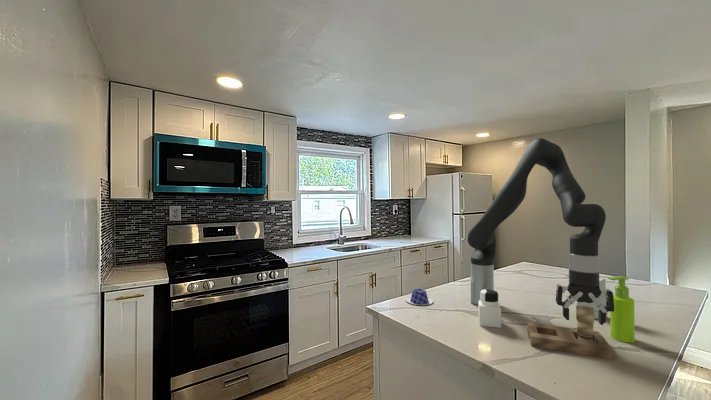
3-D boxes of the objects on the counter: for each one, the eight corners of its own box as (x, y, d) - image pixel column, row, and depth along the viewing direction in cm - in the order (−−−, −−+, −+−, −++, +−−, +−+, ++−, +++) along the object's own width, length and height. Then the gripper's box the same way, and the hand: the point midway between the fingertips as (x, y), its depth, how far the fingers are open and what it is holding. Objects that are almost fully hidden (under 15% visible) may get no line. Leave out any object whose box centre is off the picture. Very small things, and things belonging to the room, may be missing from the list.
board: (531, 346, 95) (531, 335, 95) (527, 330, 106) (527, 321, 106) (612, 359, 87) (612, 347, 87) (599, 341, 98) (598, 331, 98)
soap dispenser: (602, 335, 102) (602, 274, 102) (622, 334, 102) (621, 274, 102) (619, 343, 96) (618, 279, 96) (639, 342, 97) (639, 278, 97)
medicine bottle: (499, 320, 115) (498, 288, 115) (501, 328, 108) (501, 294, 108) (478, 318, 117) (478, 287, 117) (479, 325, 110) (479, 292, 110)
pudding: (438, 305, 133) (438, 293, 133) (413, 307, 130) (413, 295, 130) (425, 296, 145) (424, 285, 145) (401, 299, 142) (401, 287, 142)
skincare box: (607, 317, 117) (607, 278, 117) (601, 321, 114) (601, 280, 114) (582, 310, 124) (581, 274, 124) (575, 314, 121) (575, 276, 121)
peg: (578, 348, 93) (577, 308, 93) (575, 342, 97) (574, 304, 97) (596, 351, 91) (595, 310, 91) (592, 344, 95) (591, 306, 95)
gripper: (558, 269, 94) (558, 322, 94) (617, 273, 88) (617, 330, 88) (554, 264, 100) (554, 313, 100) (608, 268, 95) (608, 320, 95)
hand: (583, 321), depth 94 cm, fingers open, 8 cm apart
